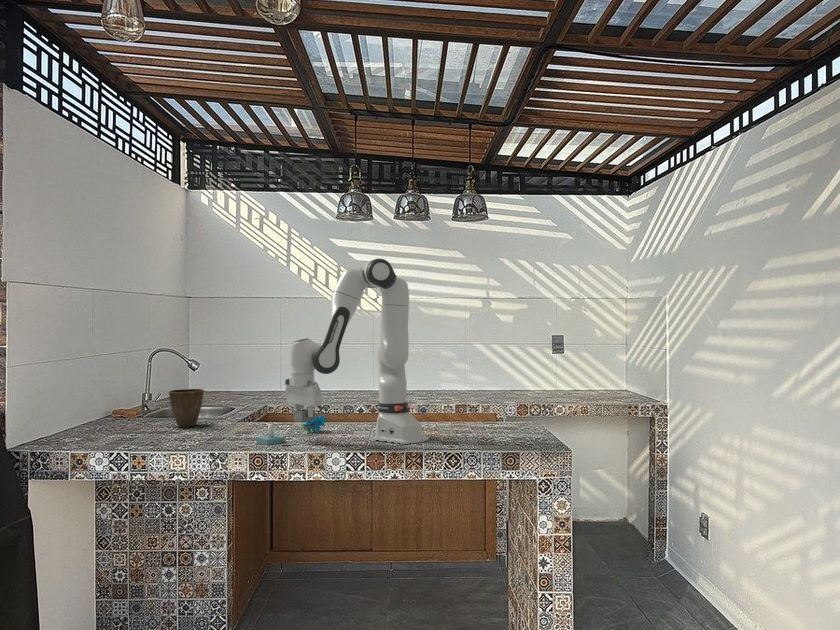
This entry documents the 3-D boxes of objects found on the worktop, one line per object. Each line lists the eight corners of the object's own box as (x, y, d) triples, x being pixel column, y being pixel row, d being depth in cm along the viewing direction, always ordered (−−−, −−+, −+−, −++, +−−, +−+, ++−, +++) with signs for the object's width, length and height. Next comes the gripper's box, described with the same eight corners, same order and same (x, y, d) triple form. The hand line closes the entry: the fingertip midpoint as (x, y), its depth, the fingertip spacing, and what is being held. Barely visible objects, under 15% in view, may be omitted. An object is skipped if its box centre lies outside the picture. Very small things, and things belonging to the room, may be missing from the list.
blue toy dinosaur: (323, 425, 281) (327, 411, 274) (328, 436, 277) (332, 422, 270) (299, 431, 275) (302, 417, 269) (303, 442, 272) (306, 428, 265)
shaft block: (285, 442, 251) (285, 424, 251) (266, 445, 246) (266, 426, 246) (274, 439, 257) (274, 421, 257) (256, 442, 252) (256, 424, 252)
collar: (315, 420, 252) (315, 409, 252) (302, 422, 248) (301, 411, 248) (307, 418, 256) (306, 408, 256) (293, 421, 252) (293, 410, 252)
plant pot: (161, 428, 287) (161, 391, 287) (181, 422, 301) (181, 388, 301) (191, 429, 283) (191, 392, 283) (210, 423, 298) (210, 389, 298)
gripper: (324, 380, 247) (326, 417, 247) (295, 378, 262) (297, 413, 262) (310, 382, 242) (312, 419, 242) (282, 380, 257) (283, 415, 257)
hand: (304, 416), depth 252 cm, fingers closed on collar, 6 cm apart
